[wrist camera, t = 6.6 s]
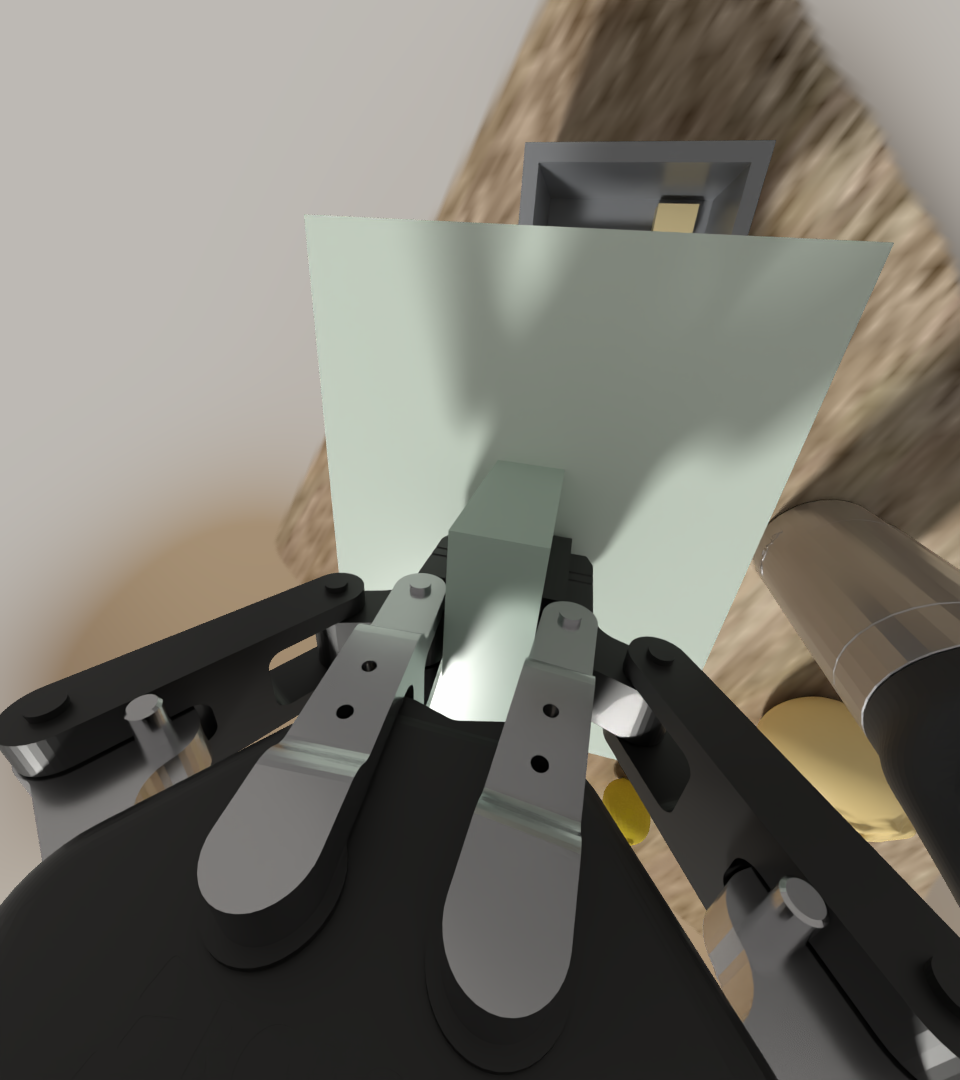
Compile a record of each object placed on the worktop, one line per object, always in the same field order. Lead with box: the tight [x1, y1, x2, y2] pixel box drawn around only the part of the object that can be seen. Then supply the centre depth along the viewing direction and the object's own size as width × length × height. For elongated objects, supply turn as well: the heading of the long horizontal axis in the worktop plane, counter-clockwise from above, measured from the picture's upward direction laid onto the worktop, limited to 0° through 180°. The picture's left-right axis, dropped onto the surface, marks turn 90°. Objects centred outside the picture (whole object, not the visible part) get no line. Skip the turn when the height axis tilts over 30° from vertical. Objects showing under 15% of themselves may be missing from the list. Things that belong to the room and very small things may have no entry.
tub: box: [519, 140, 776, 236], centre depth 28 cm, size 12×16×8 cm
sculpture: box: [757, 697, 916, 842], centre depth 39 cm, size 11×12×11 cm
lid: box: [304, 215, 894, 760], centre depth 12 cm, size 13×17×7 cm
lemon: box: [602, 778, 650, 846], centre depth 51 cm, size 6×6×8 cm
